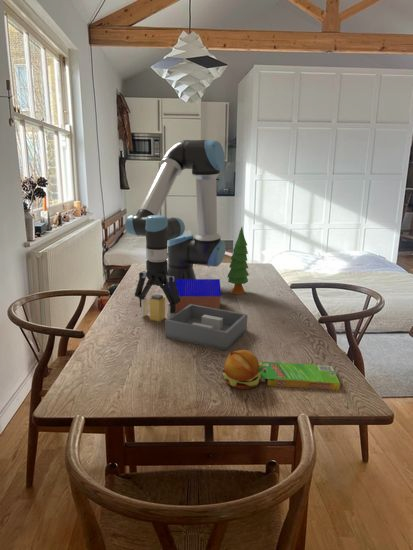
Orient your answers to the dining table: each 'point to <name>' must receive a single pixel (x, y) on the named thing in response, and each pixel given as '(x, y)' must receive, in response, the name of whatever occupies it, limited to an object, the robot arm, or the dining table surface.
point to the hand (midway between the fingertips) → (157, 318)
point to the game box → (300, 375)
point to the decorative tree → (239, 265)
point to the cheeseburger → (242, 370)
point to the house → (198, 293)
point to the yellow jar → (157, 307)
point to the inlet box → (206, 326)
